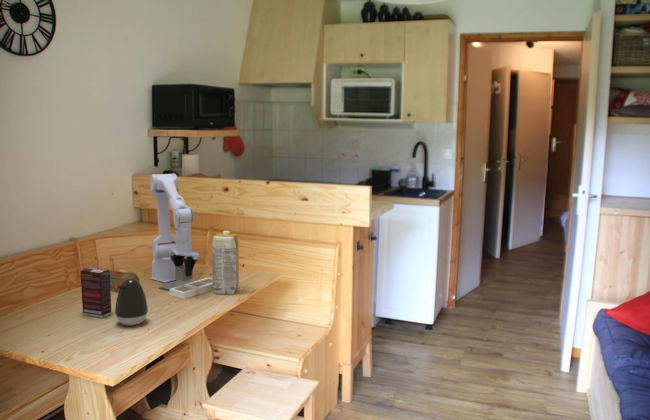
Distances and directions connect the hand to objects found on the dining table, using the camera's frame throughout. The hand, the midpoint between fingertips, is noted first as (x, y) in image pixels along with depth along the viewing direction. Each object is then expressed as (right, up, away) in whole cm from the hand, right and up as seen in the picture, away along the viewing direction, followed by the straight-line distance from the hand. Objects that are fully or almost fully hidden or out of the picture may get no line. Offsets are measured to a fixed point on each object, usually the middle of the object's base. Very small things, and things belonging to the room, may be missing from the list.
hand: (184, 274), depth 217 cm
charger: (0, -2, 0) cm, 2 cm away
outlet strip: (+4, -7, +8) cm, 11 cm away
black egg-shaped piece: (-10, -13, -29) cm, 33 cm away
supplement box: (-25, -11, -22) cm, 35 cm away
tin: (-25, -7, +3) cm, 26 cm away
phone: (-6, -6, +12) cm, 15 cm away
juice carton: (+15, -8, +6) cm, 18 cm away
